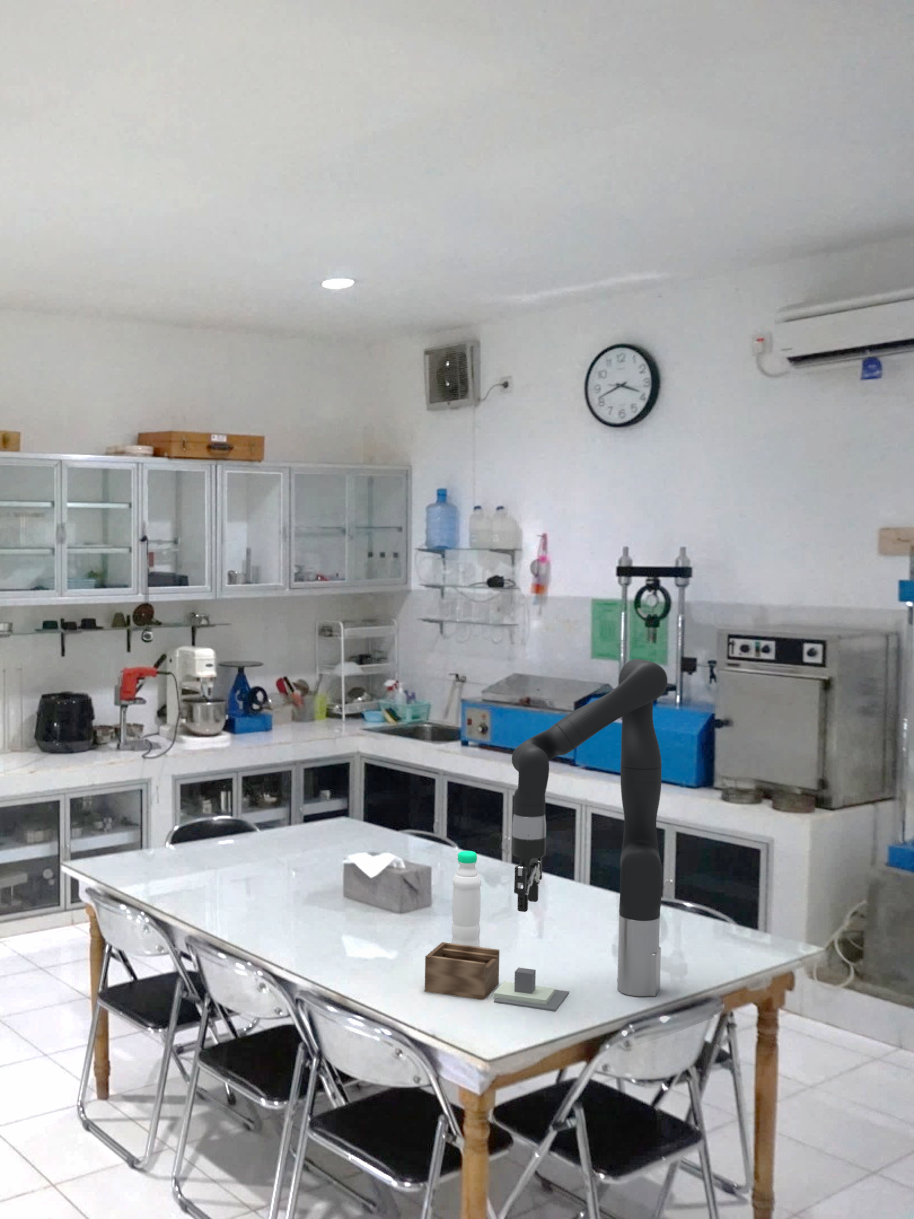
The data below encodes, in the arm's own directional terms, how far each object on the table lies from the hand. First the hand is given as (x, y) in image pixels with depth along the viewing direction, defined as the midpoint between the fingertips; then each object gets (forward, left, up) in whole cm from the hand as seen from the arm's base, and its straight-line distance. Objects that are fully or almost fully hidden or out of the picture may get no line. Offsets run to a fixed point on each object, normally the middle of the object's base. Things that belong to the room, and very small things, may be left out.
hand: (528, 906), depth 273 cm
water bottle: (+22, -23, -21) cm, 38 cm away
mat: (-2, +1, -20) cm, 20 cm away
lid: (0, +1, -20) cm, 20 cm away
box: (+15, +1, -20) cm, 25 cm away
